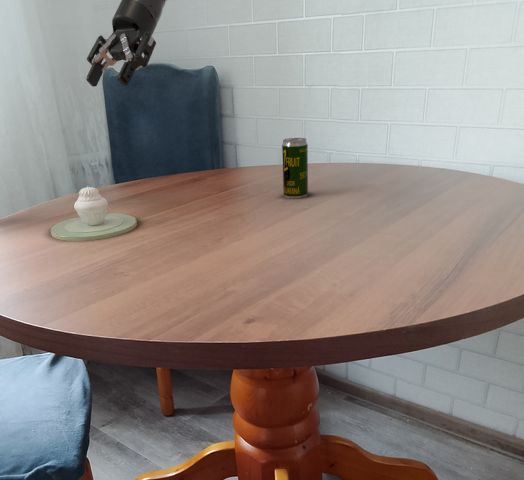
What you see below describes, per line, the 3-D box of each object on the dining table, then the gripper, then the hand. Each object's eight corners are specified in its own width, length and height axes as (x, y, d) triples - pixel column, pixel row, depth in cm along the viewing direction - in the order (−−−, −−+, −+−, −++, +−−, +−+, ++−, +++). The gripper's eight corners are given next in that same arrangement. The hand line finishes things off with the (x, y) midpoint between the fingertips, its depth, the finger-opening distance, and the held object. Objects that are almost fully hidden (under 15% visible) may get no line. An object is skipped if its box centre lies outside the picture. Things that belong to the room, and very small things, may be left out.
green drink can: (288, 193, 122) (287, 137, 117) (311, 194, 120) (311, 137, 115) (279, 199, 118) (278, 141, 112) (303, 200, 116) (302, 141, 110)
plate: (35, 242, 98) (33, 236, 98) (76, 218, 112) (74, 213, 112) (117, 242, 96) (116, 236, 95) (148, 218, 109) (148, 212, 109)
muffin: (112, 218, 107) (105, 181, 103) (109, 226, 101) (102, 188, 98) (80, 220, 106) (72, 184, 102) (75, 229, 101) (67, 191, 97)
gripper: (100, 0, 106) (67, 69, 103) (154, -7, 99) (119, 66, 96) (125, 32, 112) (93, 97, 110) (177, 27, 105) (145, 97, 103)
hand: (106, 83), depth 103 cm, fingers open, 8 cm apart
